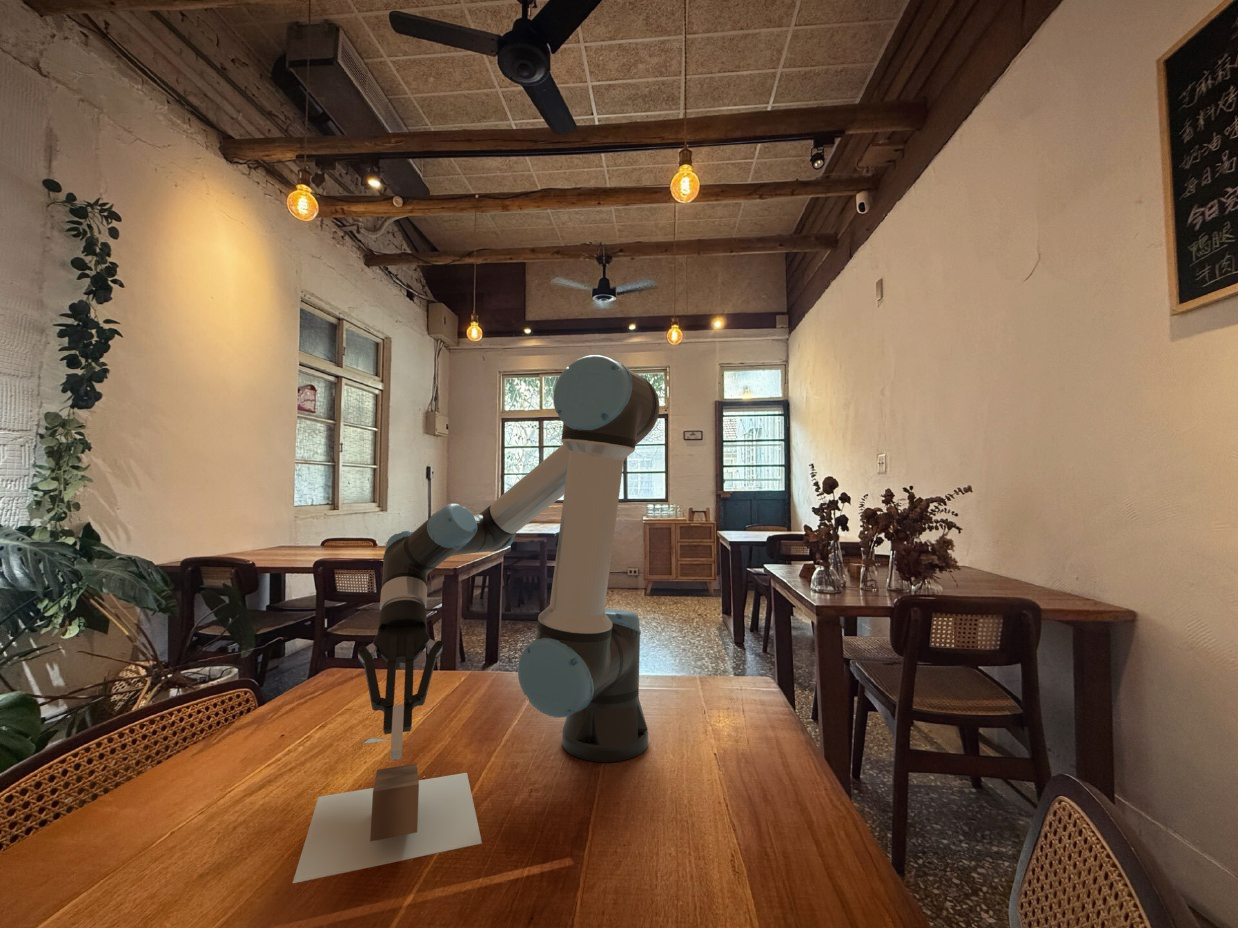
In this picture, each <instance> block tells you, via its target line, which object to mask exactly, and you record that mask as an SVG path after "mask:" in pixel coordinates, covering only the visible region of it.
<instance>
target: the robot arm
mask: <svg viewBox="0 0 1238 928" xmlns="http://www.w3.org/2000/svg"><path fill="white" fill-rule="evenodd" d="M552 396H553V397H552V398H553V400H552V401H553V407H554V410H555V412H556V413H557V415H558V418H559V419H560V420H561V422H562V423H563V425H562V432H561V439H560V440H561V441H560V442H561V445H560V446H559V447H558V448H557V449H555V450H554V451H553V452H552V453H551V454H549V455H548V456H547V457H546V458H545V459H543V460H542V461H541V462H540V463H539V464H538V465H536V466H535V467H534V468H533V469H531V470H530V471H529V472H528V473H527V474H526V475H524V476H523V477H522V478H520V479H519V481H517V482H516V483H515V484H514V485H512V486H511V487H510V488H509V489H508V490H506V491H505V492H504V493H503V494H502V495H501V496H499V497H498V498H497V499H496V500H495V501H494V502H491V504H490V505H489V506H487V507H486V508H485V509H484V510H482V511H480V513H472V512H471V511H470V510H469V509H468V508H467V507H465V506H461V505H460V504H459V503H449V504H446V505H445V506H443V507H442V508H440V509H439V510H437V511H436V512H434V513H433V514H432V515H431V516H430V517H429V518H428V519H427V520H425V521H424V522H423V523H422V524H421V525H420V526H419V527H418V528H416V529H415V530H403V531H401V532H398V533H394V534H393V535H391V536H390V537H389V538H388V540H387V541H386V545H385V549H384V554H383V557H382V562H383V565H382V579H381V580H382V581H381V589H380V600H379V601H380V602H379V616H378V622H377V623H378V625H377V627H378V628H377V633H376V635H375V636H374V637H373V641H372V642H371V643H370V644H368V645H367V646H364V645H362V646H361V645H360V646H359V647H358V648H357V656H358V661H359V662H360V665H362V666H363V668H364V671H365V678H366V682H367V689H368V693H369V699H370V704H371V708H372V710H373V711H375V712H376V711H382V712H383V726H382V727H383V730H382V731H383V734H384V735H390V734H391V736H390V738H391V739H390V755H389V756H390V761H393V760H399V759H402V757H403V742H404V741H403V740H404V739H403V737H404V734H403V733H406V732H411V730H412V724H413V710H414V709H415V708H416V707H418V706H419V707H421V706H423V705H424V704H425V702H426V699H427V695H428V692H429V691H428V690H429V689H430V683H431V679H432V677H433V676H432V675H433V672H434V670H435V667H436V666H435V665H436V662H437V660H438V659H439V658H440V656H441V655H442V653H443V647H444V642H443V641H442V640H437V641H435V640H433V639H431V637H430V634H429V633H428V631H427V627H428V626H427V618H428V617H427V605H428V575H429V573H431V572H432V571H433V570H435V569H436V568H438V567H439V566H440V565H441V564H442V563H443V562H445V561H446V560H448V559H449V558H450V557H454V556H463V555H469V554H477V553H479V554H480V553H486V552H487V553H488V552H490V553H492V552H498V551H500V550H504V549H506V548H508V547H511V545H512V544H513V543H514V541H515V538H516V535H517V532H519V531H520V530H521V529H523V528H524V527H525V526H526V525H528V524H529V523H531V521H534V519H535V518H537V517H538V516H540V514H542V513H543V512H544V511H545V510H547V509H548V508H549V507H550V506H552V505H553V504H555V502H557V501H558V500H559V499H560V498H562V497H563V500H562V502H563V503H562V508H561V518H560V525H559V532H558V538H557V539H558V540H557V547H556V556H555V563H554V568H553V569H554V570H553V579H552V584H551V585H552V586H551V594H550V602H549V605H548V606H547V608H545V609H544V610H542V611H541V612H540V613H539V614H538V618H537V625H536V632H535V638H534V640H533V641H531V642H530V643H529V644H528V645H527V646H526V647H525V649H524V650H523V651H522V653H521V654H520V658H519V660H518V664H517V677H518V682H519V685H520V688H521V691H522V694H524V695H525V696H526V697H527V699H528V702H529V704H530V705H532V707H534V708H535V709H536V710H537V711H538V712H539V713H542V714H544V715H546V716H548V717H553V718H565V721H564V723H563V727H562V731H561V733H562V735H561V737H562V738H561V744H562V747H563V749H564V751H566V752H567V753H568V754H570V755H571V756H573V757H576V758H577V759H581V760H584V761H589V762H597V763H614V762H622V761H627V760H630V759H633V758H635V757H638V756H640V755H641V754H642V753H644V752H645V751H646V749H647V748H648V746H649V728H648V725H647V722H646V718H645V714H644V711H643V707H642V705H641V701H640V693H639V692H640V690H639V689H640V651H641V648H640V647H641V634H642V632H641V628H640V625H641V624H640V617H639V616H638V614H637V613H635V612H634V611H630V610H625V609H618V608H617V609H616V608H606V602H607V594H608V587H609V585H608V584H609V578H610V577H609V576H610V570H611V563H612V562H611V561H612V556H613V555H612V553H613V546H614V538H615V530H616V524H617V523H616V522H617V515H618V506H619V501H620V500H619V499H620V492H621V483H622V477H623V470H624V469H623V468H624V467H623V466H624V463H625V462H624V461H625V460H626V459H627V458H628V456H630V455H632V454H633V453H634V452H635V450H636V446H637V445H638V444H639V443H640V442H642V440H644V439H645V438H646V437H647V436H648V435H649V433H651V431H652V430H653V429H654V427H655V425H656V423H657V421H658V419H659V415H660V399H659V396H658V393H657V391H656V389H655V387H654V386H653V385H652V383H650V382H649V380H648V379H646V378H645V377H643V376H642V375H640V374H638V373H636V372H634V371H633V370H631V369H629V368H628V367H626V365H624V364H623V363H622V362H621V361H618V360H616V359H614V358H613V359H612V358H610V357H607V356H604V355H598V354H593V355H585V356H583V357H581V358H578V359H576V360H575V361H573V362H572V363H571V364H570V365H569V366H567V367H566V368H565V369H564V370H563V371H562V372H561V374H560V375H559V377H558V378H557V381H556V383H555V386H554V389H553V395H552ZM425 649H426V654H427V658H426V661H425V665H424V667H423V668H424V669H423V672H422V674H421V675H422V676H421V677H420V683H419V686H418V689H417V692H416V693H415V694H414V691H413V690H414V667H415V666H414V664H415V663H414V661H416V660H417V658H418V657H419V656H420V655H421V654H422V652H423V651H424V650H425ZM375 652H377V653H378V655H379V656H380V657H381V658H382V659H383V661H385V663H387V668H386V669H387V670H386V683H385V695H384V697H381V693H380V687H379V682H378V678H377V673H376V672H377V671H376V667H375V662H374V659H375V657H376V653H375ZM398 664H404V665H405V667H404V686H403V687H404V690H403V692H404V693H403V704H395V691H396V690H395V689H396V673H397V665H398ZM644 750H645V751H644Z"/></svg>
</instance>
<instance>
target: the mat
mask: <svg viewBox="0 0 1238 928" xmlns="http://www.w3.org/2000/svg"><path fill="white" fill-rule="evenodd" d="M418 781H419V796H418V824H417V832H416V833H411V834H406V835H401V836H396V837H391V838H386V839H381V840H376V841H370V834H371V817H372V799H373V789H374V787H370V788H365V789H364V788H363V789H359V790H352V791H345V792H339V793H334V794H328V795H323V796H318V797H317V800H316V805H315V807H314V811H313V814H312V817H311V821H310V823H309V824H310V825H309V828H308V831H307V835H306V836H305V837H306V838H305V840H304V843H303V847H302V850H301V855H300V857H299V860H298V864H297V867H296V870H295V874H294V876H293V880H292V884H297V883H298V884H299V883H302V882H307V881H312V880H317V879H321V878H327V877H331V876H336V875H341V874H344V873H349V872H354V871H359V870H364V869H368V868H375V867H378V866H383V865H387V864H391V863H392V864H393V863H396V862H402V861H406V860H410V859H415V858H420V857H424V856H431V855H434V854H435V855H436V854H440V853H445V852H449V851H453V850H458V849H463V848H467V847H471V846H477V845H482V844H483V842H482V837H481V833H480V828H479V822H478V818H477V814H476V809H475V804H474V799H473V796H472V795H473V794H472V791H471V786H470V781H469V776H468V772H463V773H458V774H451V775H445V776H444V775H443V776H438V777H432V778H425V779H418Z"/></svg>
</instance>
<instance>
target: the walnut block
mask: <svg viewBox="0 0 1238 928" xmlns="http://www.w3.org/2000/svg"><path fill="white" fill-rule="evenodd" d="M418 772H419V771H418V763H413V764H411V763H410V764H404V765H399V766H393V767H392V766H391V767H387V768H378V769H377V770H376V773H375V779H374V783H373V788H374V789H373V799H372V817H371V834H370V841H376V840H381V839H386V838H391V837H396V836H401V835H406V834H411V833H416V832H417V824H418V796H419V773H418Z"/></svg>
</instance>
